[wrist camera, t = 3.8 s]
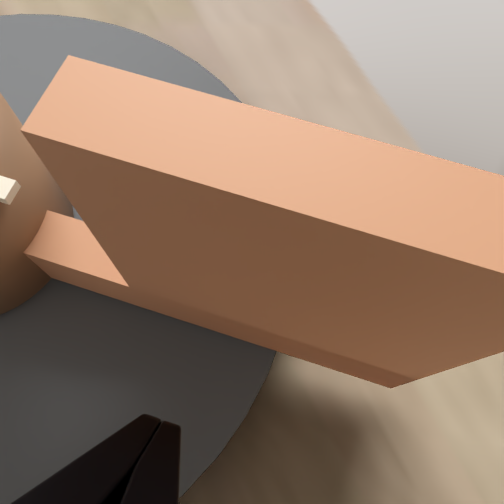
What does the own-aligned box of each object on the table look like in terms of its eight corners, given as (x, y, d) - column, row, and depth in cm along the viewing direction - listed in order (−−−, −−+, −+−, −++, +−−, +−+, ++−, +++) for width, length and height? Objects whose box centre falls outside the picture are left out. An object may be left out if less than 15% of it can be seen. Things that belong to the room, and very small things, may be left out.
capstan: (-163, 288, 16) (-712, 80, 7) (-53, 134, 19) (-338, -167, 9) (374, 472, 14) (632, 534, 5) (412, 275, 17) (625, 76, 8)
